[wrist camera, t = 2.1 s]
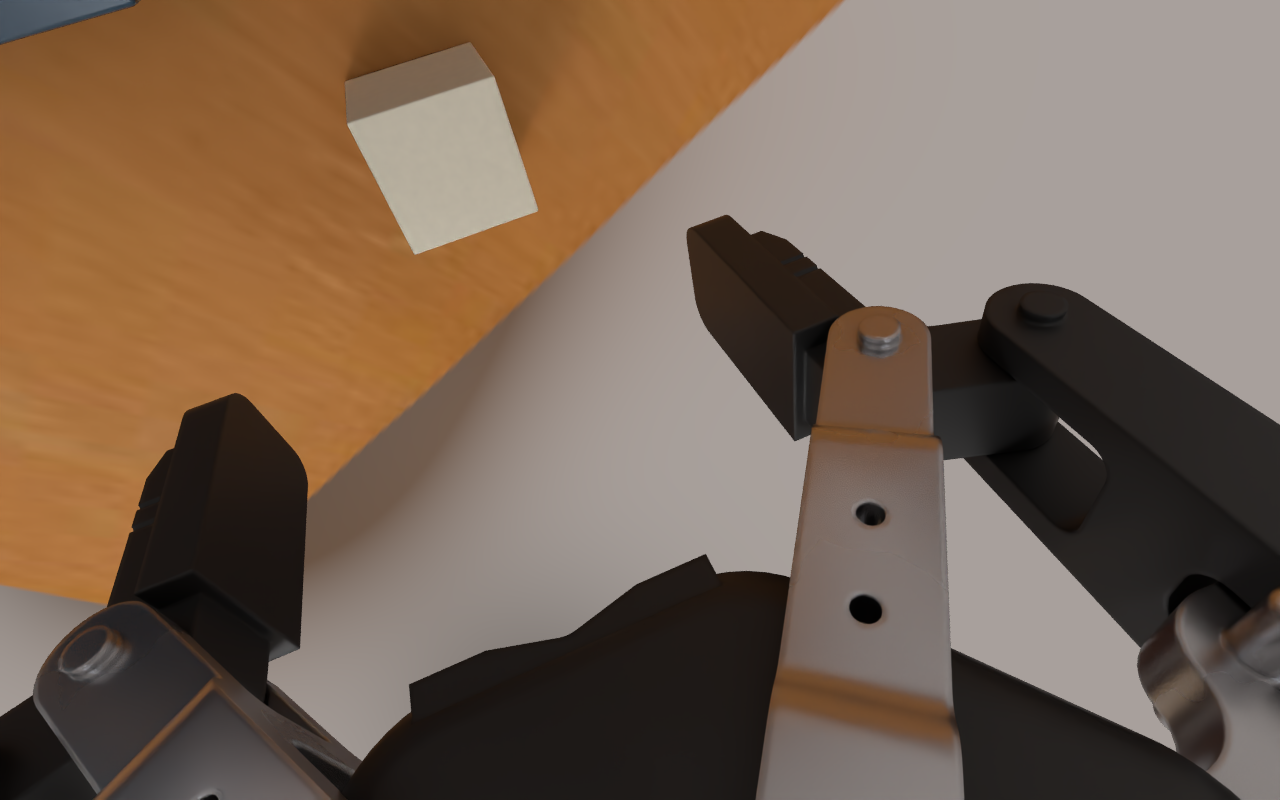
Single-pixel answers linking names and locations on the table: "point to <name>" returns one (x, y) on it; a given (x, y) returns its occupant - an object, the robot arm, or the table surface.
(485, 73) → the block
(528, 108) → the table surface
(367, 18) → the table surface
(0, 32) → the caddy
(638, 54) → the table surface
